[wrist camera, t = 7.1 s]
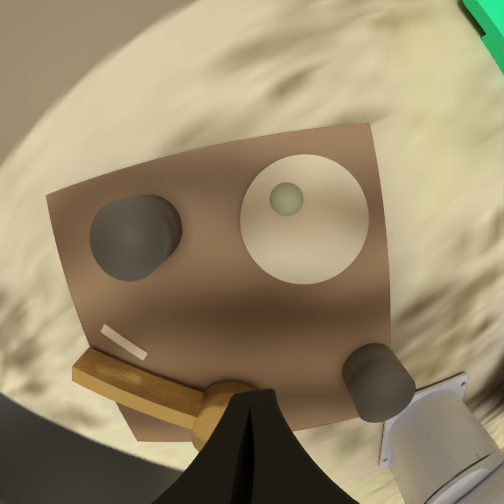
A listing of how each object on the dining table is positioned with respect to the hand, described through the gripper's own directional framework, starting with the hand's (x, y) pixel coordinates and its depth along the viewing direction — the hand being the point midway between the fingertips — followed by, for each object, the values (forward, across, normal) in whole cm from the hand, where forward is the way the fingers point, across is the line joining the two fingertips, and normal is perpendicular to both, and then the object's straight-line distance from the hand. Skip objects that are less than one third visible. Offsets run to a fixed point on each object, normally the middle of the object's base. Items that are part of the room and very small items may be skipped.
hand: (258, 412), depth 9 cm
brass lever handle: (+7, +6, +4) cm, 10 cm away
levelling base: (+9, +2, 0) cm, 9 cm away
